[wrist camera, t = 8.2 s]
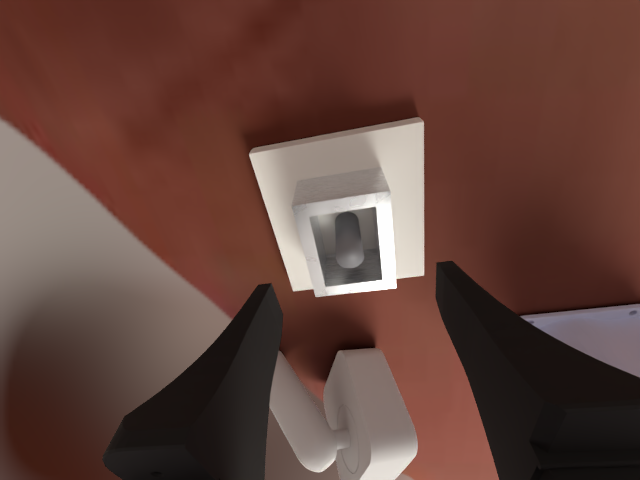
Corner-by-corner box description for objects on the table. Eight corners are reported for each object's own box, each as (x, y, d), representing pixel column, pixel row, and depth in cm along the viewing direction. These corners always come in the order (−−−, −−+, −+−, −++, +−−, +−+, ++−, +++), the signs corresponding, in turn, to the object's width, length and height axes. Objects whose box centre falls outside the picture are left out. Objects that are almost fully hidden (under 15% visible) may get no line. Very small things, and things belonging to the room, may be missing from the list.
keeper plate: (419, 116, 16) (446, 142, 12) (420, 266, 21) (439, 315, 17) (252, 148, 17) (230, 180, 13) (294, 281, 22) (287, 331, 19)
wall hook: (254, 328, 25) (261, 477, 17) (371, 323, 27) (423, 447, 20) (248, 383, 29) (251, 520, 21) (349, 374, 32) (384, 491, 24)
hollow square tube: (297, 180, 17) (291, 205, 14) (381, 166, 16) (390, 190, 14) (317, 264, 20) (315, 297, 18) (387, 255, 20) (396, 287, 17)
